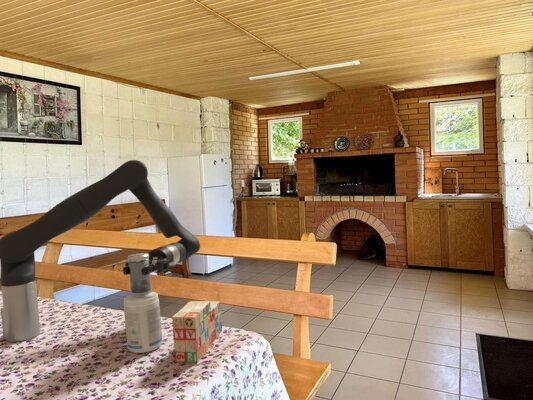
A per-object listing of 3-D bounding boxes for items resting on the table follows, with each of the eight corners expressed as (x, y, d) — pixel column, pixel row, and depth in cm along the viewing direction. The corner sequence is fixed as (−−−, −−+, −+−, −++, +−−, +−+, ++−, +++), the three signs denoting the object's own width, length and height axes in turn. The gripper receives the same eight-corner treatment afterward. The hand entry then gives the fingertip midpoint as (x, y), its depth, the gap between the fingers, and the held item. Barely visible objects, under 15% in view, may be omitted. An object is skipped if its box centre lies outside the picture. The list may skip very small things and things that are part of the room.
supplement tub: (159, 337, 118) (155, 289, 117) (165, 349, 109) (162, 297, 108) (125, 344, 114) (121, 294, 113) (129, 357, 105) (125, 303, 104)
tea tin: (126, 293, 108) (123, 257, 108) (137, 287, 114) (134, 253, 113) (144, 293, 107) (142, 257, 106) (155, 287, 113) (152, 253, 112)
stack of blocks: (203, 330, 122) (200, 291, 121) (222, 330, 121) (220, 291, 120) (174, 363, 101) (171, 316, 100) (197, 363, 100) (194, 316, 99)
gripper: (142, 246, 125) (110, 257, 109) (183, 246, 122) (157, 257, 106) (143, 269, 126) (112, 284, 109) (185, 269, 123) (159, 285, 106)
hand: (134, 271), depth 108 cm, fingers closed on tea tin, 5 cm apart
